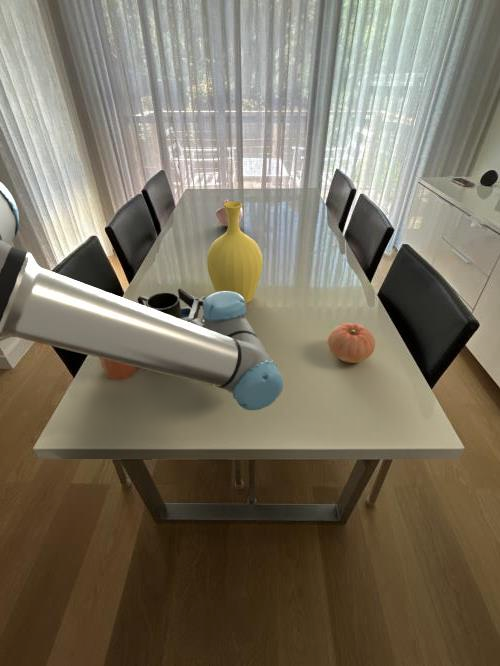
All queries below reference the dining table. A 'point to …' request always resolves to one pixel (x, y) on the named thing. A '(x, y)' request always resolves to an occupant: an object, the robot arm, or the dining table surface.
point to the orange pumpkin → (351, 342)
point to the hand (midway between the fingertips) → (156, 301)
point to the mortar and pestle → (225, 215)
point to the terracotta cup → (117, 369)
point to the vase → (235, 258)
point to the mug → (163, 303)
